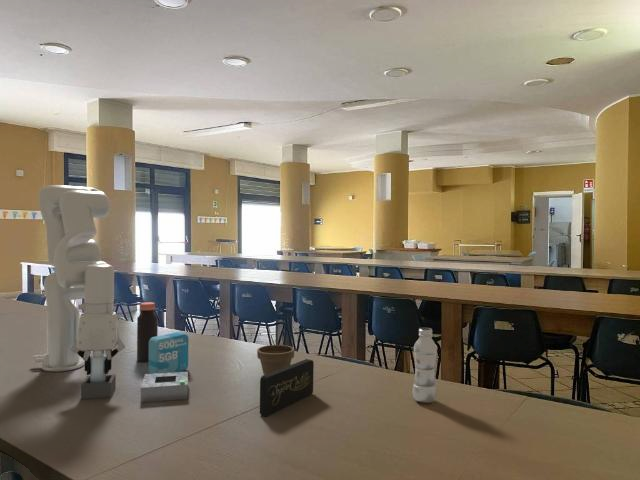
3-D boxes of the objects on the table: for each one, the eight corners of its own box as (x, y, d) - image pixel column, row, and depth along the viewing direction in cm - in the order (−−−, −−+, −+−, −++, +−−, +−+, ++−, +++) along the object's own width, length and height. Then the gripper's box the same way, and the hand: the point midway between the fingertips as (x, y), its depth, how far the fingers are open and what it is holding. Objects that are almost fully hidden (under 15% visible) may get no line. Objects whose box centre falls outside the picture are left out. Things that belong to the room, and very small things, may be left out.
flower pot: (248, 380, 145) (249, 348, 145) (276, 373, 154) (276, 342, 153) (273, 390, 138) (274, 355, 137) (301, 381, 146) (302, 348, 146)
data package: (156, 378, 146) (156, 339, 146) (148, 375, 149) (148, 337, 149) (188, 369, 156) (188, 333, 156) (180, 367, 159) (180, 331, 158)
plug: (88, 390, 130) (89, 347, 130) (91, 385, 134) (92, 343, 134) (104, 389, 132) (105, 347, 131) (106, 384, 135) (107, 343, 135)
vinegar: (160, 357, 170) (161, 302, 169) (152, 362, 163) (152, 305, 163) (142, 356, 171) (142, 301, 170) (133, 361, 164) (133, 304, 163)
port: (140, 402, 126) (140, 385, 126) (144, 387, 138) (145, 372, 137) (187, 399, 129) (187, 382, 129) (187, 384, 141) (187, 369, 141)
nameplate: (265, 417, 117) (265, 377, 117) (259, 416, 118) (260, 376, 118) (313, 394, 135) (313, 359, 135) (307, 392, 136) (308, 358, 136)
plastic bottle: (437, 398, 132) (438, 327, 132) (434, 407, 126) (436, 332, 126) (414, 395, 135) (415, 325, 134) (410, 403, 128) (412, 330, 128)
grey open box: (80, 399, 128) (80, 384, 128) (86, 389, 135) (86, 375, 135) (111, 396, 130) (111, 382, 130) (115, 387, 137) (115, 374, 137)
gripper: (62, 311, 126) (61, 379, 127) (129, 310, 131) (128, 375, 131) (69, 306, 133) (68, 370, 134) (132, 305, 138) (131, 367, 139)
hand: (98, 372), depth 133 cm, fingers closed on plug, 4 cm apart
